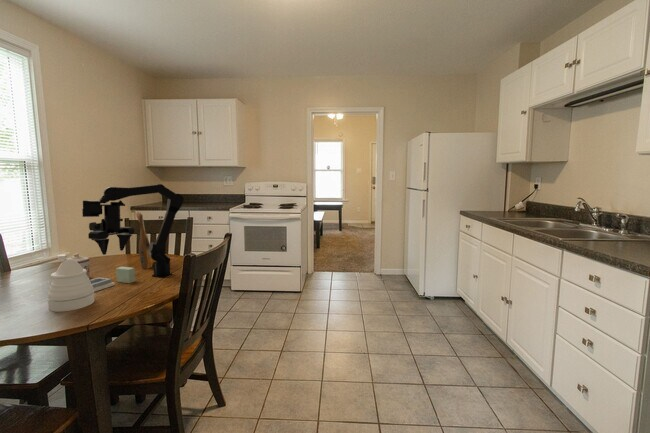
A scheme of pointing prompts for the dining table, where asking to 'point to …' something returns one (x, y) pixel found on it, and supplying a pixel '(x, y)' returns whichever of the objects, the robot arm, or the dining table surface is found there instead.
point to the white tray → (101, 283)
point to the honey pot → (69, 287)
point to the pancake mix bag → (144, 245)
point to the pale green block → (125, 274)
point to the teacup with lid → (82, 262)
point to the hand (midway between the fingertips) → (113, 252)
